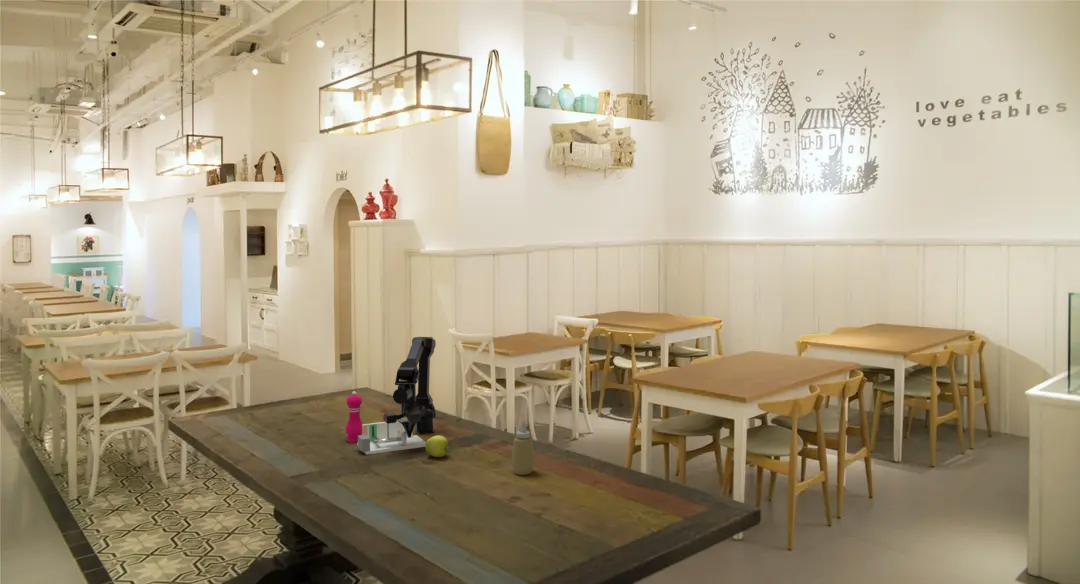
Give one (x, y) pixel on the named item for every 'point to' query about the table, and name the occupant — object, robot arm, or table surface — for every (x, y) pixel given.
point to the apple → (437, 446)
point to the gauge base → (384, 432)
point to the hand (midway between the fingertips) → (409, 437)
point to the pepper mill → (354, 418)
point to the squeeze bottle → (523, 452)
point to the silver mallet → (401, 438)
